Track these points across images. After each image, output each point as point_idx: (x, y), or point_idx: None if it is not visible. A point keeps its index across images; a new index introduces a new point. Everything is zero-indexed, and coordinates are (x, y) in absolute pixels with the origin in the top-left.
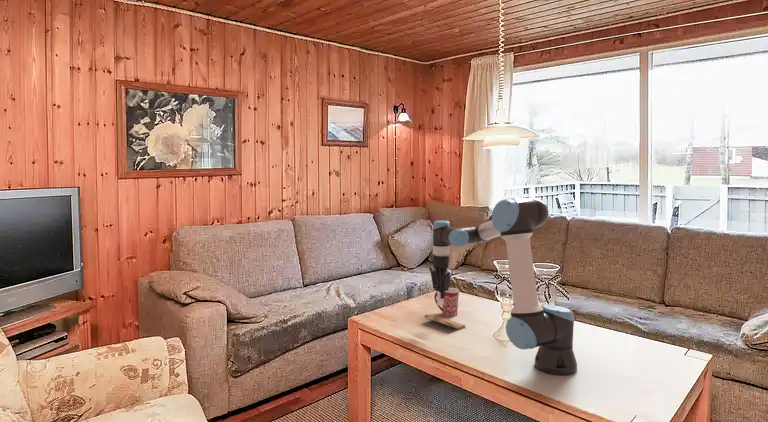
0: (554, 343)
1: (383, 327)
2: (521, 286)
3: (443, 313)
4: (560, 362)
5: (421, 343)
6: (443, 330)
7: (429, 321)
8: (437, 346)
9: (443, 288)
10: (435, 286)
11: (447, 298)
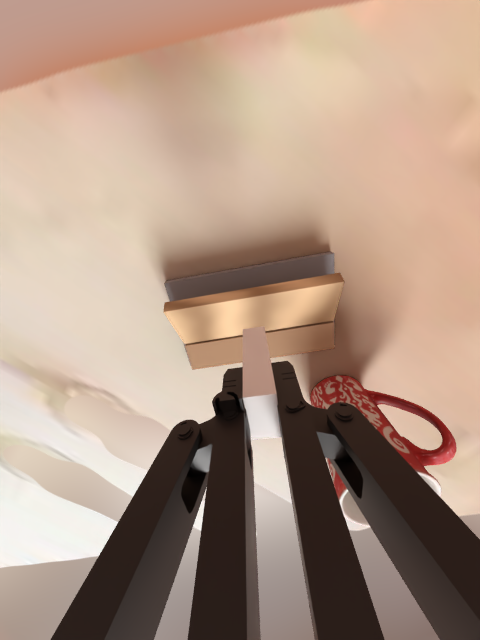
0: None
1: (458, 24)
2: None
3: (348, 383)
4: None
5: (126, 86)
6: (205, 279)
7: None
8: (64, 142)
9: (185, 448)
10: (333, 434)
11: None
